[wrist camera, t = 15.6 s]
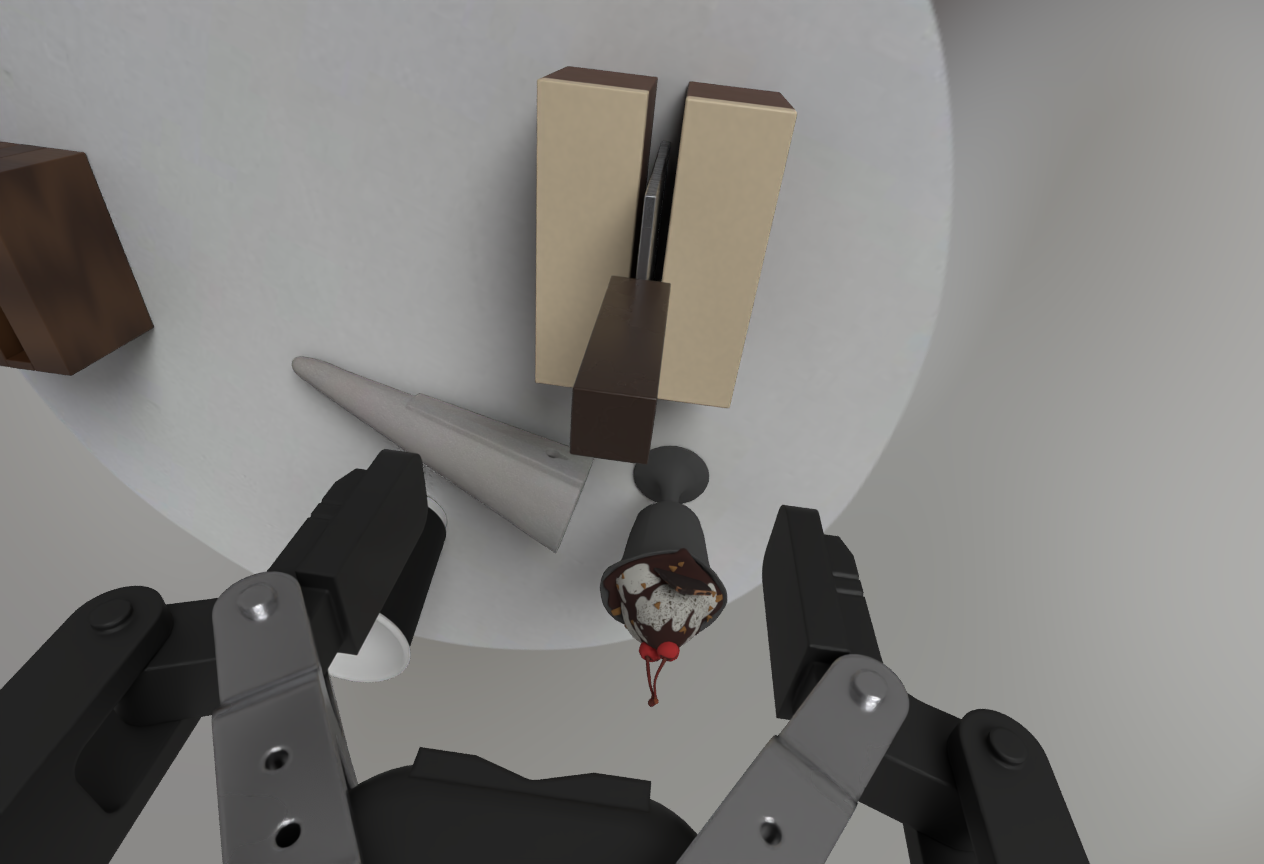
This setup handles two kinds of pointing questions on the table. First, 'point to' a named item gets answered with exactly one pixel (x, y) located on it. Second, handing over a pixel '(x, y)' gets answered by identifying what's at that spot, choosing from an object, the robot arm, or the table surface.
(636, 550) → the sundae
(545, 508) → the long tapered cone
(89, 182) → the knife stand
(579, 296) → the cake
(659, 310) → the knife
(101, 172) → the table surface
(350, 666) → the dixie cup
